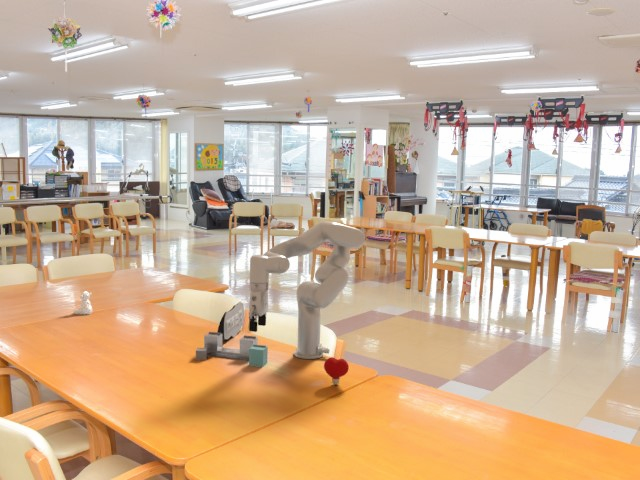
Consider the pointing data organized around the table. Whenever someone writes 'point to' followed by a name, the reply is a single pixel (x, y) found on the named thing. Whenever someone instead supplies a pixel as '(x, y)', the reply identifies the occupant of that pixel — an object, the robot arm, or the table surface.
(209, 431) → the table surface
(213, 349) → the board
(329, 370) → the light bulb
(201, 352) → the block
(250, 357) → the module
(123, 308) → the table surface
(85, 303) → the white creature statuette
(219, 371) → the table surface
